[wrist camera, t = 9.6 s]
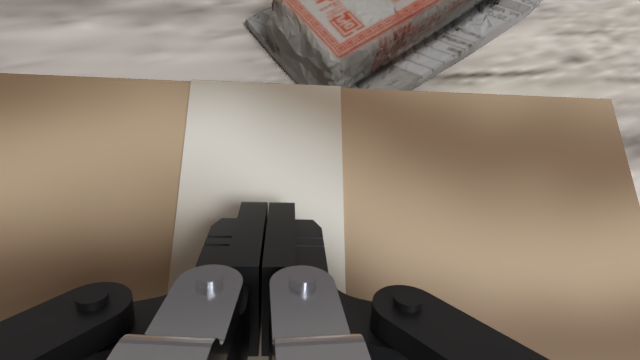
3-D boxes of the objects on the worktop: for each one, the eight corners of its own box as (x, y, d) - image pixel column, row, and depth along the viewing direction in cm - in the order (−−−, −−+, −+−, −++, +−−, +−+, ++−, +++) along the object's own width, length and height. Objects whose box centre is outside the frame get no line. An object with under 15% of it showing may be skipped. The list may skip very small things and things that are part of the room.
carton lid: (715, 587, 12) (749, 606, 11) (-325, 648, 10) (-384, 678, 9) (596, 110, 17) (612, 98, 16) (-109, 81, 14) (-133, 65, 14)
